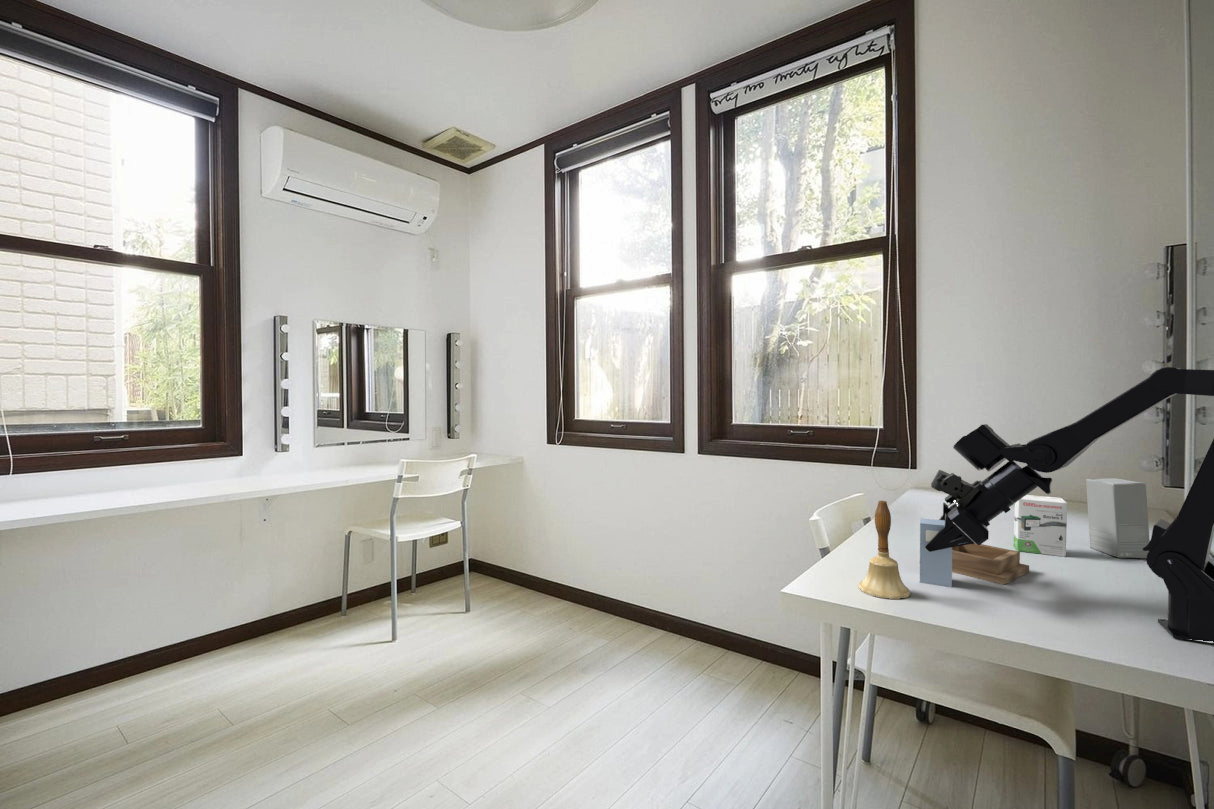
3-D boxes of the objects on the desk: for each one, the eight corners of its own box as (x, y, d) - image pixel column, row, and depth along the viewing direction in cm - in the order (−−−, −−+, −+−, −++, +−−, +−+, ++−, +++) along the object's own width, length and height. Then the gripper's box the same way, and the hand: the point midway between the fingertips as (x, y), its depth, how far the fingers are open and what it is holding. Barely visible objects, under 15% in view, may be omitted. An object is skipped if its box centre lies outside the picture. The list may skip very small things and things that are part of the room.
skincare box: (1151, 559, 113) (1153, 483, 112) (1112, 558, 114) (1113, 482, 113) (1120, 548, 121) (1121, 476, 121) (1083, 547, 122) (1084, 476, 122)
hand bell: (870, 599, 93) (871, 506, 92) (850, 582, 101) (850, 496, 101) (920, 599, 93) (921, 506, 92) (895, 582, 101) (896, 496, 100)
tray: (1004, 584, 99) (1004, 564, 99) (923, 564, 111) (923, 546, 111) (1029, 571, 106) (1029, 552, 106) (950, 554, 118) (950, 537, 118)
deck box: (951, 587, 98) (952, 526, 98) (919, 582, 101) (920, 523, 101) (950, 579, 102) (951, 520, 102) (919, 575, 105) (920, 518, 104)
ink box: (1016, 551, 119) (1017, 497, 119) (1013, 545, 124) (1013, 493, 123) (1067, 557, 115) (1068, 501, 115) (1062, 551, 119) (1062, 497, 119)
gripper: (958, 451, 107) (894, 502, 113) (965, 462, 91) (890, 521, 97) (1007, 495, 103) (939, 545, 109) (1023, 515, 87) (942, 572, 93)
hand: (926, 544), depth 102 cm, fingers open, 7 cm apart
